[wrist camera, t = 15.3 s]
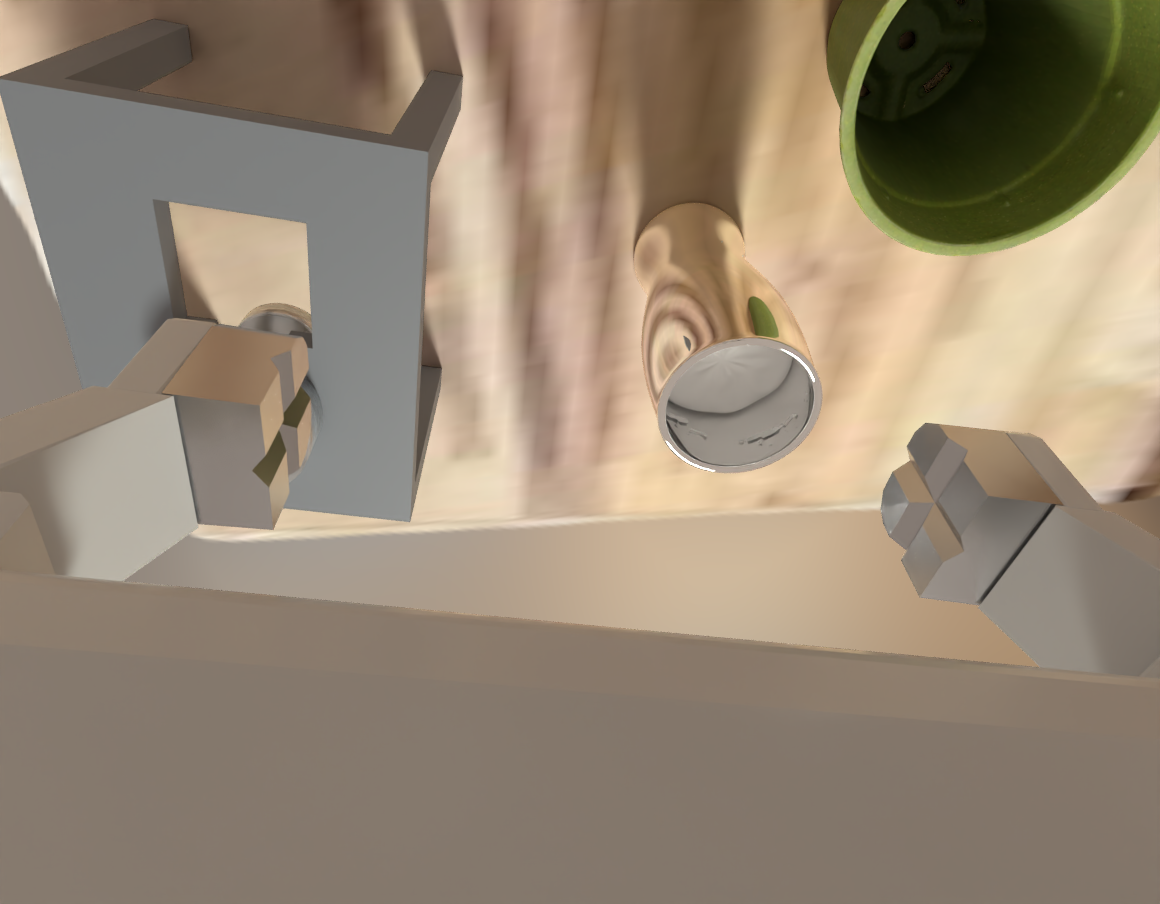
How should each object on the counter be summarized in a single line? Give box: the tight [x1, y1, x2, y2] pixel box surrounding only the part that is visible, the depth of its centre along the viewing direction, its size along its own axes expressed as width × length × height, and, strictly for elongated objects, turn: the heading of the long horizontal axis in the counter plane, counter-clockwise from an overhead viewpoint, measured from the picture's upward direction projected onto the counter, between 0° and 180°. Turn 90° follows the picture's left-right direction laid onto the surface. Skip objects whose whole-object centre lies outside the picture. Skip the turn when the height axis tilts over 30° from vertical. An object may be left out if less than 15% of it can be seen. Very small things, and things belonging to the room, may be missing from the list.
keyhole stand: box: [0, 19, 463, 522], centre depth 35 cm, size 18×14×12 cm
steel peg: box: [238, 303, 323, 483], centre depth 34 cm, size 6×6×8 cm
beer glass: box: [634, 203, 823, 473], centre depth 36 cm, size 7×7×15 cm
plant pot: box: [827, 0, 1160, 256], centre depth 31 cm, size 12×12×11 cm
